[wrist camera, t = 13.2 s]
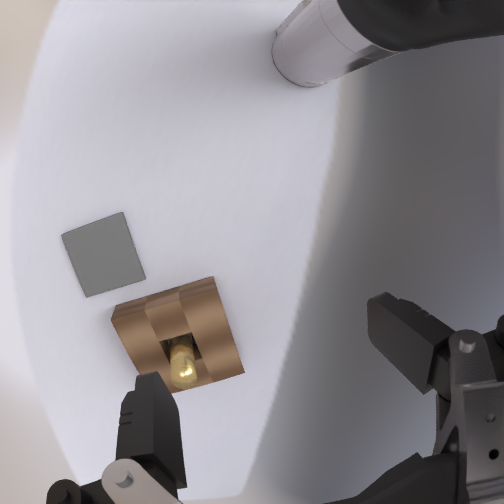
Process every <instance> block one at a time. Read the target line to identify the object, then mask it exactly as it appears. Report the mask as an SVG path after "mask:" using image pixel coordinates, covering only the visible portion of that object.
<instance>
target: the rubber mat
mask: <svg viewBox="0 0 504 504" xmlns="http://www.w3.org/2000/svg"><path fill="white" fill-rule="evenodd" d="M61 236H62V239H63V242H64V244H65V247H66V250H67V253H68V255H69V258H70V260H71V263H72V265H73V268H74V270H75V273H76V275H77V277H78V280H79V282H80V284H81V287H82V289H83V291H84V294H85V296H86V298H87V297H90V296H93V295H97V294H100V293H103V292H106V291H110V290H113V289H116V288H119V287H123V286H126V285H129V284H132V283H135V282H139V281H142V280H145V279H146V277H145V275H144V272H143V269H142V267H141V264H140V261H139V258H138V256H137V253H136V250H135V247H134V244H133V241H132V238H131V236H130V233H129V230H128V227H127V223H126V220H125V217H124V214H123V212H121V213H118V214H115V215H112V216H110V217H107V218H104V219H101V220H99V221H96V222H93V223H90V224H88V225H85V226H82V227H80V228H77V229H75V230H72V231H69V232H67V233H64V234H62V235H61Z"/></svg>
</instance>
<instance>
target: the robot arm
mask: <svg viewBox="0 0 504 504" xmlns="http://www.w3.org/2000/svg"><path fill="white" fill-rule="evenodd" d="M276 33H277V38H276V40H275V42H274V44H273V48H272V56H273V60H274V63H275V65H276V67H277V69H278V70H279V71H280V73H281V74H282V75H283V76H284V77H286V78H287V79H288V80H290V81H291V82H293V83H295V84H298V85H300V86H305V87H315V86H320V85H322V84H325V83H327V82H330V81H331V80H333V79H336V78H338V77H340V76H343V75H345V74H347V73H349V72H352V71H354V70H357V69H359V68H362V67H364V66H367V65H369V64H372V63H374V62H377V61H380V60H382V59H385V58H388V57H390V56H393V55H396V54H399V53H402V52H404V51H407V50H410V49H423V48H428V47H431V46H436V45H439V44H444V43H449V42H454V41H460V40H467V39H475V38H484V37H491V36H499V35H504V0H303V1H302V2H301V3H300V4H299V5H298V6H297V7H296V8H295V9H294V10H293V11H292V13H291V14H290V15H289V16H288V17H287V18H286V19H285V21H284V22H283V23H282V24H281V25H280V26H279V27H278V29H277V30H276ZM367 312H368V335H369V338H370V340H371V342H372V344H373V345H374V346H375V347H376V348H377V349H378V350H379V351H380V352H381V353H382V354H383V355H384V356H385V357H386V358H387V359H388V360H389V361H390V362H391V363H392V364H393V365H394V366H395V367H396V368H397V369H398V370H399V371H400V372H401V373H402V374H403V375H404V376H405V377H406V378H407V379H408V380H409V381H410V382H411V383H412V384H413V385H414V386H415V387H416V388H417V389H418V390H419V391H420V392H422V394H423V395H424V394H425V393H427V392H428V391H430V390H431V389H433V388H434V389H435V390H436V391H437V393H436V440H435V444H434V448H433V453H432V456H428V457H424V458H422V457H421V456H420V455H419V454H418V453H415V454H414V455H412V456H411V457H409V458H408V459H406V460H404V461H403V462H401V463H399V464H398V465H396V466H395V467H393V468H391V469H389V470H388V471H386V472H385V473H384V474H383V475H382V476H381V477H379V478H378V479H377V480H376V481H375V482H374V483H372V484H371V485H370V486H369V487H368V488H366V489H365V490H364V491H363V492H361V493H360V494H359V495H357V496H355V497H353V498H348V499H344V500H340V501H335V502H330V503H325V504H504V315H502V316H501V317H500V318H499V320H498V323H497V327H496V329H495V330H493V331H490V332H488V333H485V334H482V335H481V334H480V333H479V332H477V331H474V330H468V329H465V330H459V331H457V332H456V331H454V330H453V329H451V328H450V327H449V326H447V325H446V324H444V323H443V322H441V321H440V320H438V319H437V318H435V317H434V316H432V315H429V313H428V312H426V311H425V310H422V308H421V307H419V306H418V305H416V304H414V303H413V302H410V301H407V300H403V299H399V300H398V299H397V298H395V297H394V296H392V295H391V294H389V293H388V292H384V293H382V294H380V295H377V296H375V297H373V298H370V299H369V300H368V303H367ZM120 415H121V416H120V420H119V424H120V426H119V428H118V438H117V448H116V459H115V461H114V462H112V463H111V464H109V465H108V466H107V467H106V469H105V470H104V472H103V474H102V479H100V480H97V481H95V482H92V483H89V484H86V485H83V486H79V485H77V484H76V483H75V482H73V481H71V480H68V479H63V480H59V481H57V482H55V483H54V484H53V485H52V486H51V487H50V489H49V491H48V493H47V501H46V504H183V503H182V502H181V501H180V500H178V494H177V489H181V488H187V482H186V474H185V467H184V458H183V449H182V440H181V430H180V418H179V411H178V407H177V405H176V402H175V400H174V398H173V396H172V395H171V393H170V391H169V390H168V388H167V386H166V384H165V383H164V381H163V379H162V377H161V376H160V374H159V373H158V372H157V371H154V372H150V373H146V374H142V375H138V376H137V377H136V383H135V391H130V392H128V393H127V395H126V396H125V398H124V400H123V402H122V404H121V412H120Z"/></svg>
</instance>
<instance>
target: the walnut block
mask: <svg viewBox="0 0 504 504" xmlns="http://www.w3.org/2000/svg"><path fill="white" fill-rule="evenodd" d="M111 322H112V324H113V326H114V328H115V330H116V332H117V334H118V336H119V338H120V339H121V341H122V343H123V345H124V347H125V349H126V351H127V353H128V354H129V356H130V358H131V360H132V362H133V363H134V365H135V367H136V369H137V370H138V372H139V374H140V375H142V374H146V373H150V372H154V371H157V372H158V373H159V374H160V376H161V377H162V379H163V381H164V383H165V384H166V386H167V388H168V390H169V391H170V393H171V394H172V393H176V392H180V391H184V390H188V389H191V388H195V387H199V386H202V385H206V384H210V383H213V382H217V381H220V380H223V379H227V378H230V377H233V376H236V375H240V374H243V373H245V371H244V368H243V366H242V363H241V360H240V357H239V354H238V351H237V348H236V345H235V342H234V339H233V336H232V333H231V330H230V327H229V324H228V321H227V318H226V315H225V312H224V309H223V306H222V303H221V300H220V296H219V293H218V290H217V287H216V284H215V281H214V278H213V277H209V278H206V279H203V280H200V281H196V282H193V283H190V284H186V285H183V286H180V287H177V288H173V289H170V290H167V291H163V292H160V293H157V294H153V295H150V296H147V297H143V298H140V299H137V300H133V301H130V302H126V303H123V304H120V305H116V307H115V310H114V312H113V315H112V318H111ZM190 332H192V334H193V337H194V339H195V341H196V343H195V344H193V352H194V360H195V368H196V375H197V382H196V384H195V385H194V386H193V387H191V388H188V389H180V388H177V387H175V386H174V385H173V384H172V382H171V363H170V347H169V345H168V343H167V340H166V339H169V338H173V337H177V336H180V335H184V334H187V333H190Z"/></svg>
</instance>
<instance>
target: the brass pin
mask: <svg viewBox="0 0 504 504" xmlns="http://www.w3.org/2000/svg"><path fill="white" fill-rule="evenodd" d="M170 363H171V382H172V384H173V385H174V386H175V387H177V388H180V389H188V388H191V387H193V386H194V385H195V384H196V382H197V375H196V368H195V360H194V352H193V344H192V336H191V332H190V333H187V334H184V335H180V336H177V337H173V338H170Z"/></svg>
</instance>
